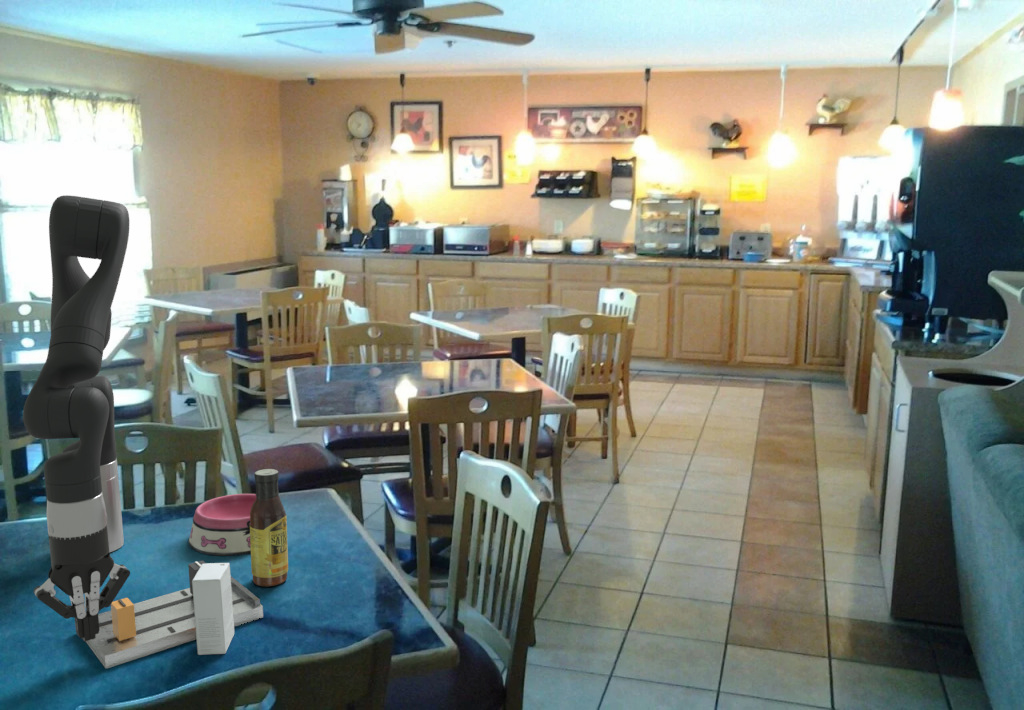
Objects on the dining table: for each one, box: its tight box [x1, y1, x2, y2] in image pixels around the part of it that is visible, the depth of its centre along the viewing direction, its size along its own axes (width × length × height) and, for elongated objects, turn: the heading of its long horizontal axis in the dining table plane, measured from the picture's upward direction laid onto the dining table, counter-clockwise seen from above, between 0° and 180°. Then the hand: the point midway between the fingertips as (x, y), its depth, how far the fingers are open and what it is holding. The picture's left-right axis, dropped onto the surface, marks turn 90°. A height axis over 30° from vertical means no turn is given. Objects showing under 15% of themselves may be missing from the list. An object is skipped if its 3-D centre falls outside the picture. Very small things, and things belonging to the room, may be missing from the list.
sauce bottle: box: [250, 468, 289, 588], centre depth 153 cm, size 6×6×20 cm
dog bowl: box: [188, 493, 257, 557], centre depth 173 cm, size 18×19×7 cm
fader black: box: [187, 560, 207, 595], centre depth 144 cm, size 3×2×5 cm
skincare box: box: [192, 562, 235, 656], centre depth 132 cm, size 6×4×12 cm
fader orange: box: [110, 597, 136, 641], centre depth 131 cm, size 3×2×5 cm
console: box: [85, 575, 264, 670], centre depth 138 cm, size 14×24×3 cm, turn 131°
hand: (88, 637), depth 128 cm, fingers closed
